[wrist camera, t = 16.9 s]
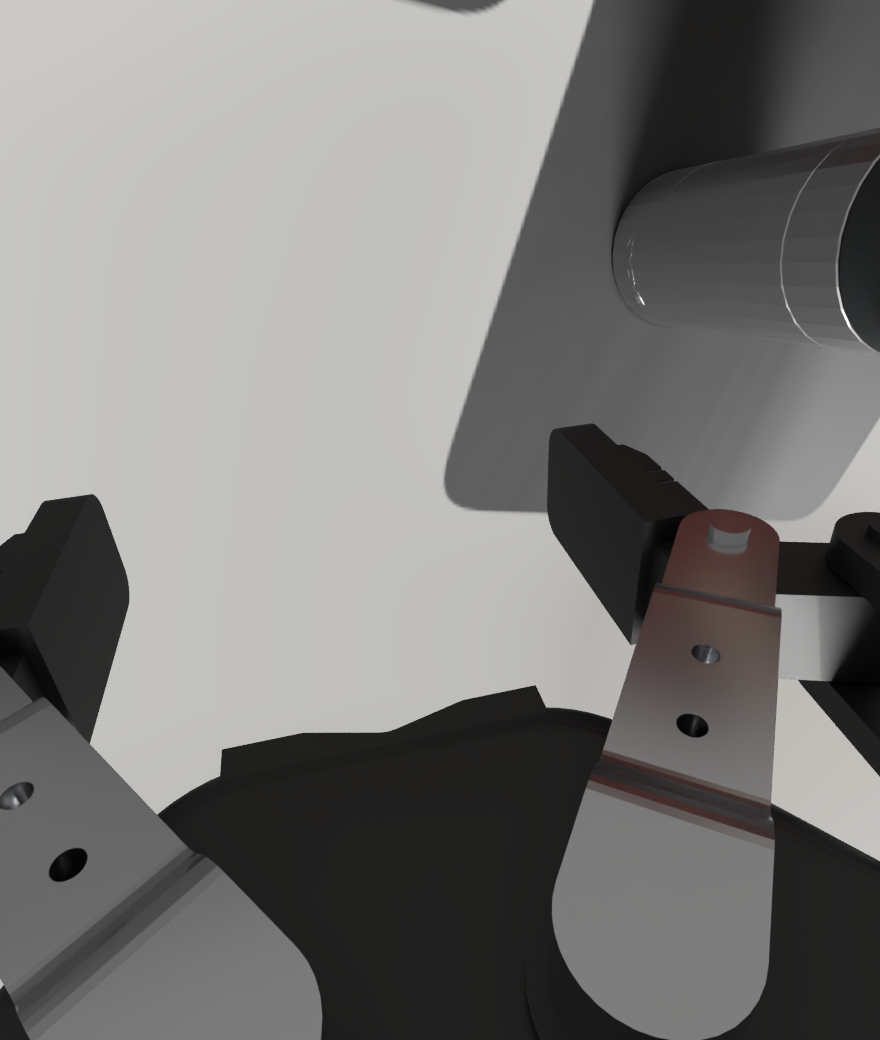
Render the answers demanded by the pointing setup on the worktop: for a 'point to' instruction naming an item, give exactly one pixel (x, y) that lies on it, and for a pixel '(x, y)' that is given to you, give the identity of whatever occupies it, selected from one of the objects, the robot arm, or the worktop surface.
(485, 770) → the robot arm
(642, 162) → the worktop surface
